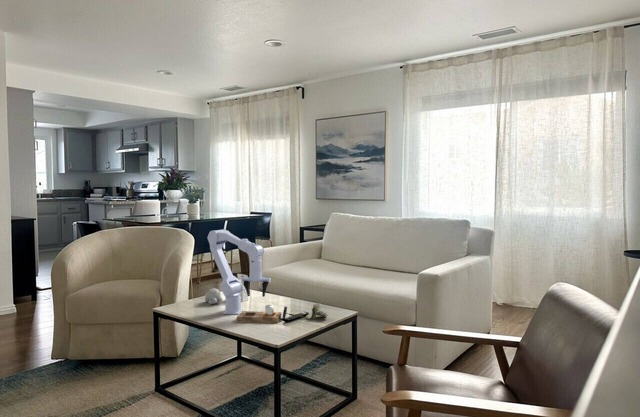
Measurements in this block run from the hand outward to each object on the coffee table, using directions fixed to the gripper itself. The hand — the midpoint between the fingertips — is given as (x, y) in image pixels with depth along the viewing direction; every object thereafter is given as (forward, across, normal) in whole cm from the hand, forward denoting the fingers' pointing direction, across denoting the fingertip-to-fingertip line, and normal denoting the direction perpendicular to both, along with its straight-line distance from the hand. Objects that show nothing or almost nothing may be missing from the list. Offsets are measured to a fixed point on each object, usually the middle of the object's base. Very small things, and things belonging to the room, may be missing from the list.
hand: (256, 296), depth 228 cm
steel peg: (+10, +8, -5) cm, 14 cm away
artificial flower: (+11, +25, 0) cm, 27 cm away
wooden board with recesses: (+10, +3, -5) cm, 12 cm away
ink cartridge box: (+10, -17, +31) cm, 37 cm away
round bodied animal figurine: (+10, -31, +22) cm, 39 cm away
